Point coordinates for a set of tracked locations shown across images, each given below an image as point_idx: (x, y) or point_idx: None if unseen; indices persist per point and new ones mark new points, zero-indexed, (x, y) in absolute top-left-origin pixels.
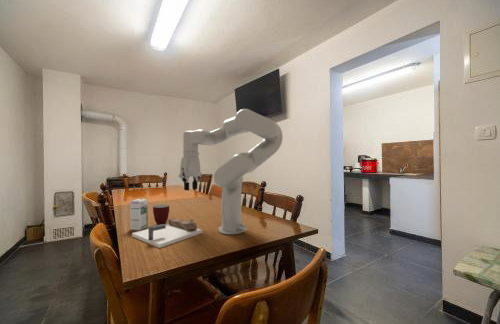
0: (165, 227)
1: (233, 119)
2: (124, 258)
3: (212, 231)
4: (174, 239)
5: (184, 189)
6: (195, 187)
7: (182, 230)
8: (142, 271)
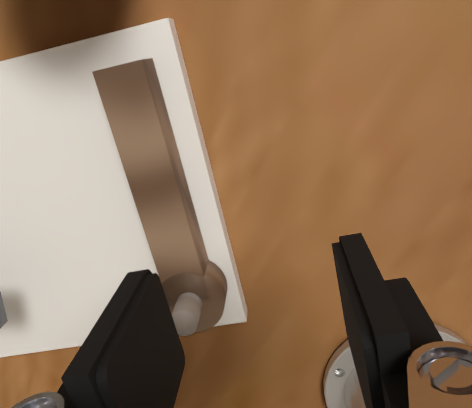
0: (3, 324)
1: None
2: None
3: (310, 325)
4: (66, 347)
5: (130, 277)
6: (351, 344)
7: (147, 257)
8: None
